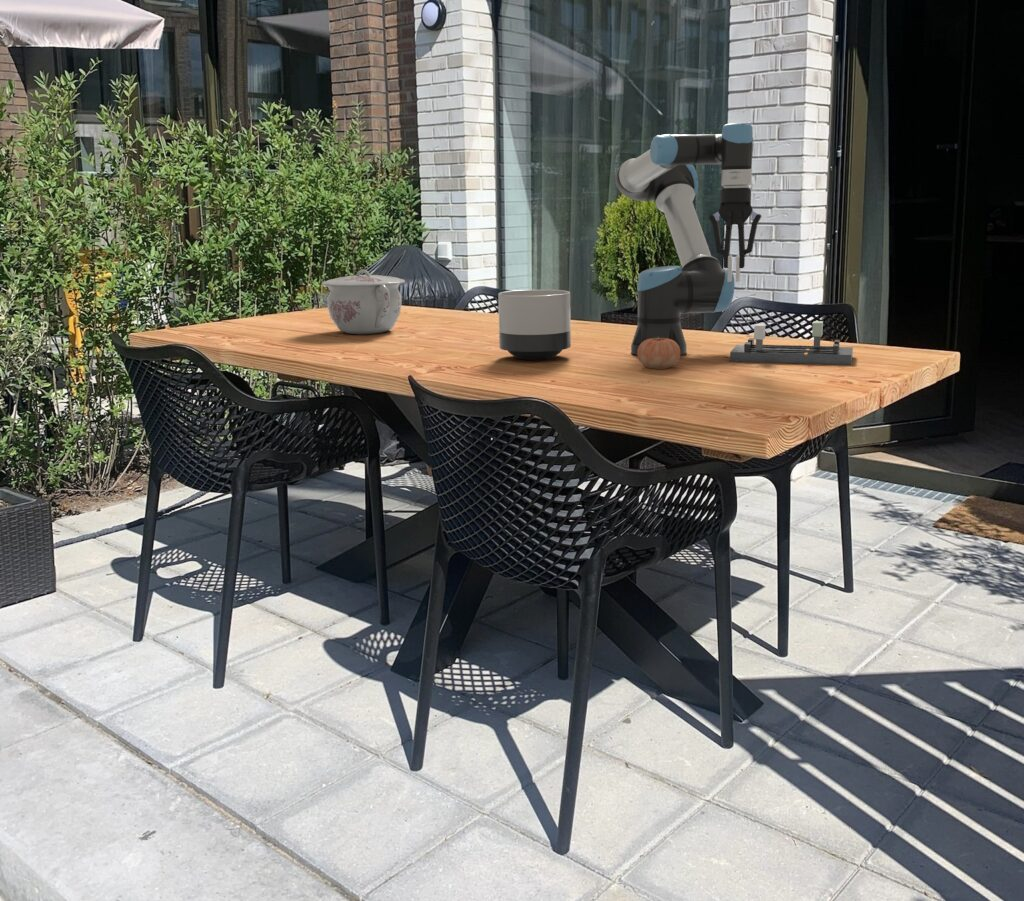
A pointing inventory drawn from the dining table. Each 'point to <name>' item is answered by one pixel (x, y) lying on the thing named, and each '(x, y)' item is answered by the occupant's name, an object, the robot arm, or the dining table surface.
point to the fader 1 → (759, 335)
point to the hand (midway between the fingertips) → (733, 281)
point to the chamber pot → (364, 302)
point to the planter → (534, 323)
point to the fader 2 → (817, 332)
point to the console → (792, 354)
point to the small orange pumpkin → (658, 353)
